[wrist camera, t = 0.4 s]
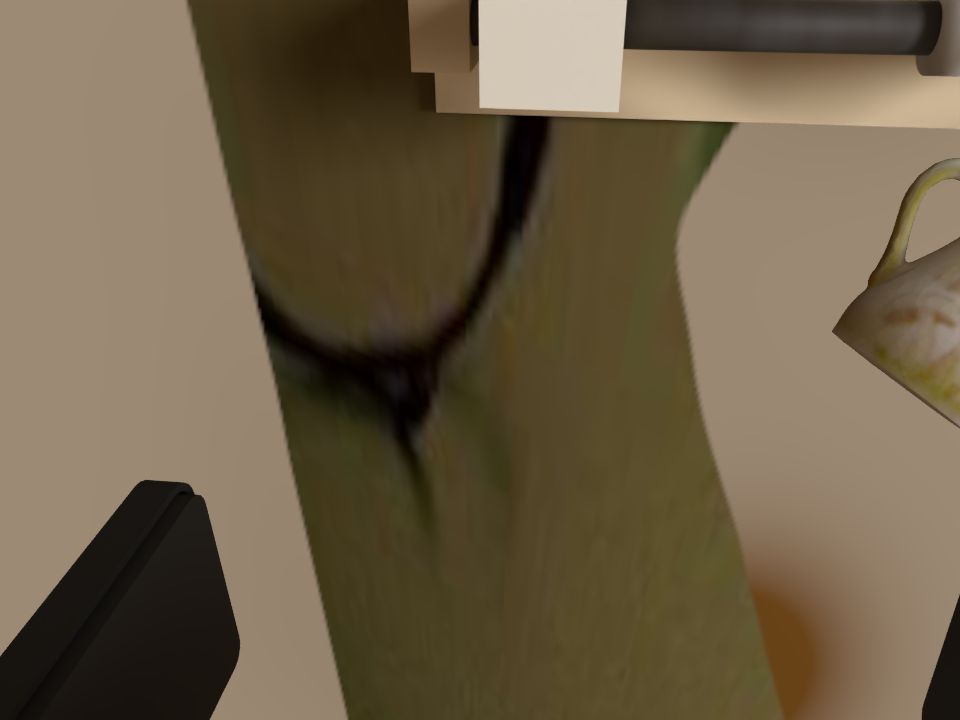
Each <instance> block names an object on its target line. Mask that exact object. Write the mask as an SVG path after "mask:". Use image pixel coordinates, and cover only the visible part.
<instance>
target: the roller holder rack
mask: <svg viewBox="0 0 960 720" xmlns="http://www.w3.org/2000/svg"><path fill="white" fill-rule="evenodd" d="M408 12H409V32H410V53H411V72H429V73H435V93H436V112H439V113H470V114H501V115H532V116H563V117H594V118H625V119H656V120H687V121H718V122H751V123H781V124H813V125H844V126H874V127H906V128H937V129H960V0H627V6H626V19H625V33H624V47H623V60H622V74H621V87H620V101H619V112H618V113H615V112H583V111H551V110H519V109H494V108H480V96H479V0H408Z"/></svg>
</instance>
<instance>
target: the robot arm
mask: <svg viewBox="0 0 960 720" xmlns="http://www.w3.org/2000/svg"><path fill="white" fill-rule="evenodd" d="M239 651H240V639H239V634H238V630H237V626H236V622H235V618H234V614H233V610H232V606H231V602H230V598H229V594H228V590H227V586H226V582H225V578H224V574H223V570H222V566H221V562H220V558H219V554H218V551H217V546H216V542H215V538H214V535H213V531H212V527H211V522H210V519H209V515H208V511H207V507H206V503H205V500H204V498H203V497H202V496H201V495H195V494H194V492H193V489H192V487H190V485H189V484H187V483H181V482H168V481H153V480H144V481H141V482H140V483H138V484H137V485H136V486H135V487H134V488H133V490H132V491H131V492H130V494H129V495H128V496H127V497H126V499H125V500H124V501H123V502H122V504H121V505H120V506H119V507H118V509H117V510H116V511H115V512H114V514H113V515H112V516H111V517H110V519H109V520H108V521H107V523H106V524H105V525H104V526H103V528H102V529H101V530H100V531H99V533H98V534H97V535H96V537H95V538H94V539H93V540H92V541H91V543H90V544H89V545H88V546H87V548H86V549H85V550H84V552H83V553H82V554H81V555H80V557H79V558H78V559H77V560H76V562H75V563H74V564H73V565H72V567H71V568H70V569H69V571H68V572H67V573H66V574H65V576H64V577H63V578H62V579H61V581H60V582H59V583H58V584H57V586H56V587H55V588H54V589H53V591H52V592H51V593H50V594H49V596H48V597H47V598H46V600H45V601H44V602H43V603H42V605H41V606H40V607H39V608H38V609H37V611H36V612H35V613H34V615H33V616H32V617H31V618H30V620H29V621H28V622H27V623H26V625H25V626H24V627H23V628H22V630H21V631H20V632H19V633H18V635H17V636H16V637H15V638H14V640H13V641H12V642H11V643H10V645H9V646H8V647H7V649H6V650H5V651H4V652H3V654H2V655H1V656H0V720H210V718H211V715H212V714H213V712H214V710H215V708H216V706H217V704H218V701H219V699H220V697H221V695H222V693H223V691H224V689H225V687H226V685H227V683H228V681H229V679H230V677H231V675H232V673H233V671H234V669H235V666H236V664H237V661H238V657H239ZM922 720H960V596H959V598H958V602H957V604H956V608H955V611H954V614H953V617H952V620H951V623H950V626H949V629H948V632H947V635H946V638H945V641H944V644H943V647H942V650H941V653H940V656H939V659H938V662H937V665H936V668H935V671H934V674H933V677H932V680H931V683H930V686H929V689H928V692H927V695H926V698H925V701H924V704H923V708H922Z"/></svg>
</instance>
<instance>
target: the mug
mask: <svg viewBox="0 0 960 720" xmlns="http://www.w3.org/2000/svg"><path fill="white" fill-rule="evenodd" d="M945 179H956V180H959V181H960V158H955V159H947V160H944V161H941V162H939V163H935V164H934V165H933V166H931V167H930V168H928V169H927V170H926V171H924V172H923V173H922V174H920V175H919V176H918V178H917V179H916V180H915V181H914V183H913V184H912V185H911V186H910V187H909V189H908V191H907V193H906V194H905V196H904V198H903V201H902V203H901V206H900V209H899V213H898V216H897V219H896V223H895V226H894V229H893V232H892V235H891V238H890V240H889V243H888V245H887V248H886V250H885V252H884V254H883V256H882V258H881V260H880V262H879V263H878V265H877V267H876V269H875V270H874V271H873V272H872V274H871V275H870V278H869V280H868V287H867V288H866V290H865V291H864V292H862V293H861V294H860V295H859V296H858V297H857V298H856V299H855V300H854V301H853V302H852V303H851V304H850V305H849V306H848V308H847V309H846V310H845V312H844V314H843V315H842V316H841V318H840V320H839V321H838V323H837V325H836V326H835V327H834V329H833V331H832V332H833V333H834V334H835V335H836V336H838V337H839V338H840V339H841V340H842V341H843V342H844V343H846V344H847V345H849V346H850V347H851V348H853V349H854V350H855V351H856V352H858V353H859V354H860V355H861V356H863V357H864V358H865V359H867V360H868V361H869V362H870V363H872V364H873V365H874V366H876V367H877V368H878V369H880V370H881V371H882V372H884V373H885V374H886V375H888V376H889V377H890V378H892V379H893V380H894V381H896V382H897V383H898V384H900V385H901V386H902V387H904V388H905V389H906V390H908V391H909V392H910V393H912V394H913V395H914V396H916V397H917V398H918V399H920V400H921V401H922V402H924V403H925V404H926V405H928V406H929V407H930V408H932V409H933V410H934V411H936V412H937V413H939V414H940V415H941V416H943V417H944V418H945V419H947V420H948V421H950V422H951V423H953V424H954V425H956V426H957V427H958V428H960V237H959V238H958V239H956V240H954V241H953V242H951V243H949V244H948V245H946V246H944V247H942V248H940V249H939V250H937V251H934V252H933V253H930V254H928V255H926V256H924V257H922V258H920V259H918V260H915V261H913V262H910V263H908V262H906V261H905V254H906V249H907V245H908V240H909V235H910V231H911V228H912V224H913V221H914V218H915V215H916V212H917V210H918V207H919V204H920V202H921V200H922V198H923V196H924V195H925V194H926V191H927V190H928V189H929V188H930V187H932V186H933V185H935V184H937V183H938V182H940V181H941V180H945Z"/></svg>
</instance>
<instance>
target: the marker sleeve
mask: <svg viewBox="0 0 960 720" xmlns="http://www.w3.org/2000/svg"><path fill="white" fill-rule="evenodd" d="M626 6H627V0H479V96H480V108H494V109H519V110H551V111H583V112H615V113H618V112H619V101H620V87H621V74H622V60H623V47H624V33H625V19H626Z"/></svg>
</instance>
